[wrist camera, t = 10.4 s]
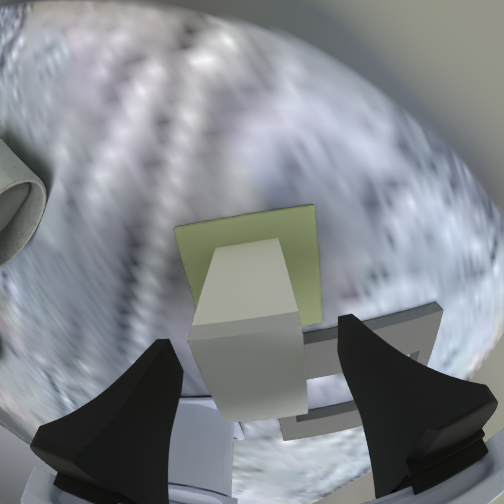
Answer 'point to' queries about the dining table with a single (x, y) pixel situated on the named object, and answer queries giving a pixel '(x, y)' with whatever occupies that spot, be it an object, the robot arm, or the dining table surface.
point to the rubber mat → (256, 229)
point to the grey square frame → (327, 363)
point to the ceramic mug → (17, 204)
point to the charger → (250, 335)
